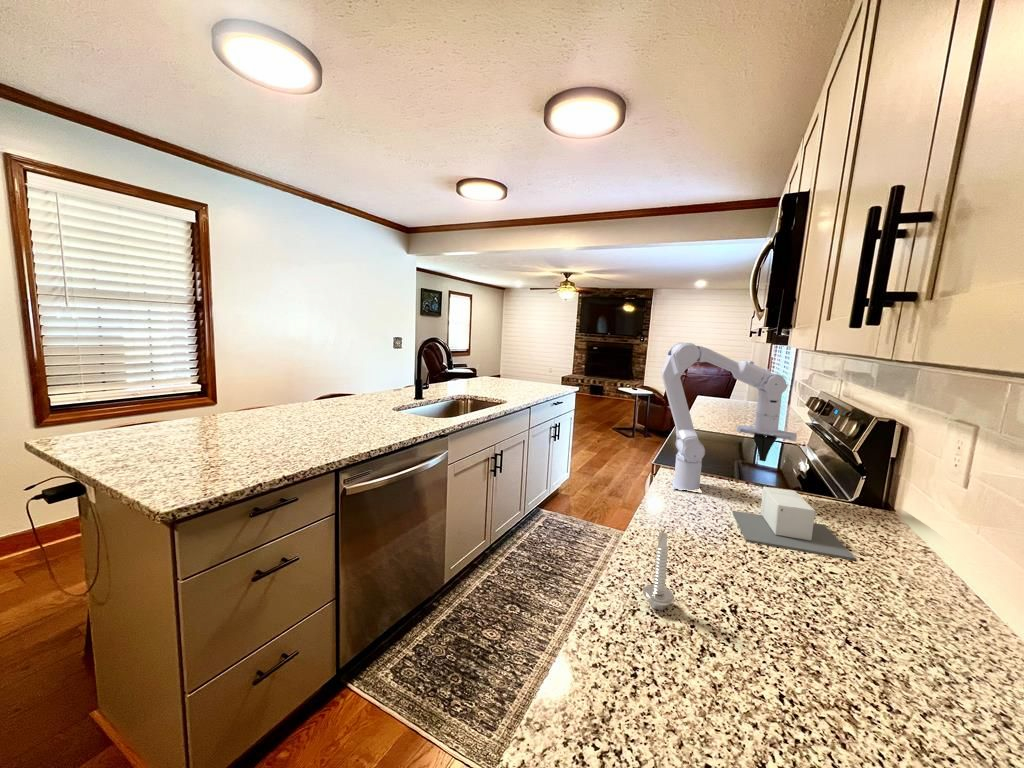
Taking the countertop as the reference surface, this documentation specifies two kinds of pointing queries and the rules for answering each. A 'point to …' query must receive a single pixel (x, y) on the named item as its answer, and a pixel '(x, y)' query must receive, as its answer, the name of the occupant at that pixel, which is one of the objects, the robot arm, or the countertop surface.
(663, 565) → the screw
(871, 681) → the countertop surface
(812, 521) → the supplement box
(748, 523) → the mat
